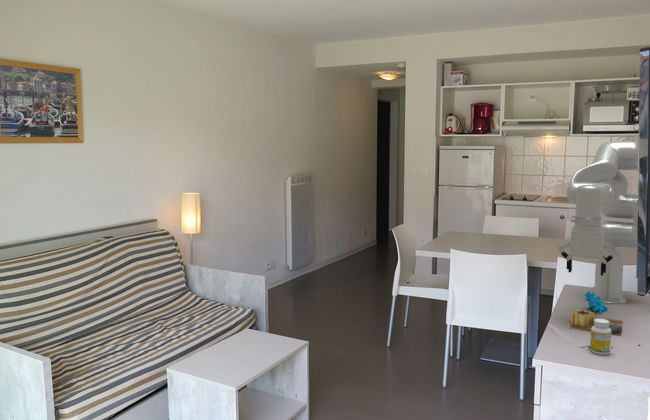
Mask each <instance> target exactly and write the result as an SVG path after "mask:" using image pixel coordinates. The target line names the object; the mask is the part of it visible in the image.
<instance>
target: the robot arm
mask: <svg viewBox="0 0 650 420" xmlns="http://www.w3.org/2000/svg"><path fill="white" fill-rule="evenodd" d="M638 143H639V141H636V140H635V141H634V140H627V141H625V140H621V141H620V140H617V141H615V140H614V141H606V142H603V143H602V144H600V145H599V147H598V149H596V150H597V151H596V153H595V155H594V158H593V160H592V163H591V164H589V165H586V166H585V167H583V168H581V169H579V170H578V171H575V172H574V174H573V175H572V177H571V179H570V181H569V184H568V186H567V188H566V199H567V200H568V202H569V203H570V204H574V205H575V216H574V217H573V218H570V223H574V225H573V226H572V227H571V232H570V239H569V241H568V242H566V243H564V244H562V245H561V244H560V245H559V246H558V251H559V252H560V255H561V256H562V257H563V258H564V259H565V261H566V270H567V271H568V273H570V274H571V273H572V271H573V257H578V258H588V259H589V258H590V259H591V258H592V259H595V268H594V269H595V271H594V286H592V287H591V288H592V291H594V292H593V293H595V297H597V296H599V297H600V298H601V299H599V300H600V301H603V300H604V301H605V304H604V305H625V304H626V303H627V300H626V298H625V297H623V296H622V295H623V294H622V293H623V292H622V291H623V278H624V277H623V275H624V256H623V254H622V252H621V251H620V250H619V248H629V249H638V248H637V200H638V195H639V194H628V190H629V181H628V179H627V177H626V176H625V175H624V174H623V173H622V172H621V171H639V170H638ZM620 170H621V171H620ZM602 216H604V217H605V218H609V219H619V220H620V219H622V220H631V221H633V222H623V221H613V220H612V221H611V220H610V221H609V220H606V221H605V220H604V221H602V220H601V219H602V218H601V217H602ZM566 248H569V254H568V253H567V252H566V250H565V249H566Z"/></svg>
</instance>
